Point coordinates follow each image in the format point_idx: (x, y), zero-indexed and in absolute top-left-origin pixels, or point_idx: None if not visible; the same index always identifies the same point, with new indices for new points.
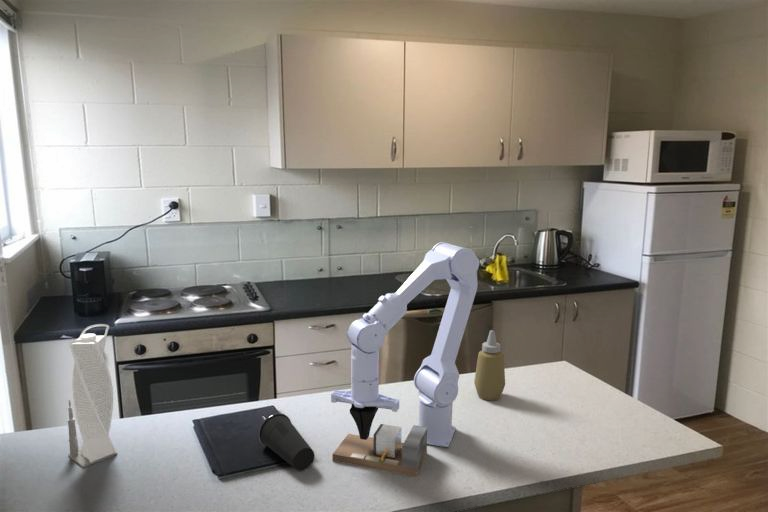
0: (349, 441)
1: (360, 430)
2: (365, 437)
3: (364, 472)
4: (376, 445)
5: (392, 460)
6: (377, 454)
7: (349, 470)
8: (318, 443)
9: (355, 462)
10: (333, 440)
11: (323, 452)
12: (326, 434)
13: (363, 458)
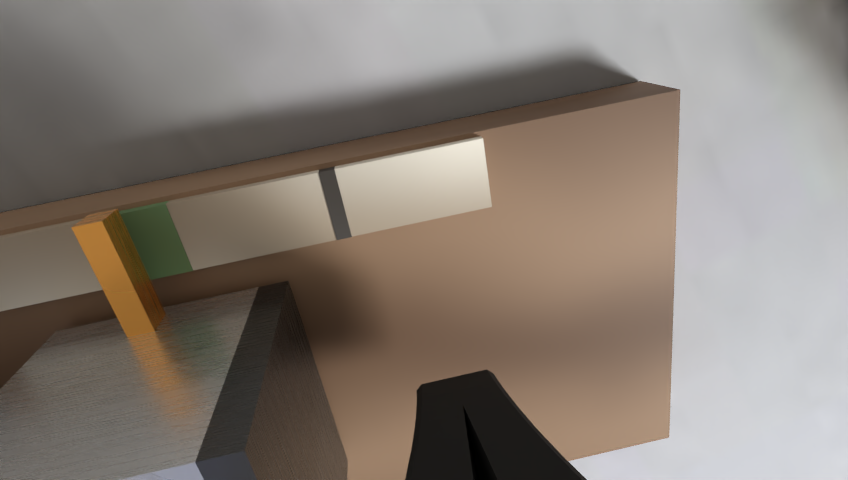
0: (613, 355)
1: (509, 447)
2: (424, 401)
3: (266, 56)
4: (230, 350)
5: (46, 288)
6: (241, 293)
7: (416, 11)
8: (840, 253)
9: (417, 132)
10: (741, 342)
11: (762, 161)
12: (815, 378)
13: (336, 169)
